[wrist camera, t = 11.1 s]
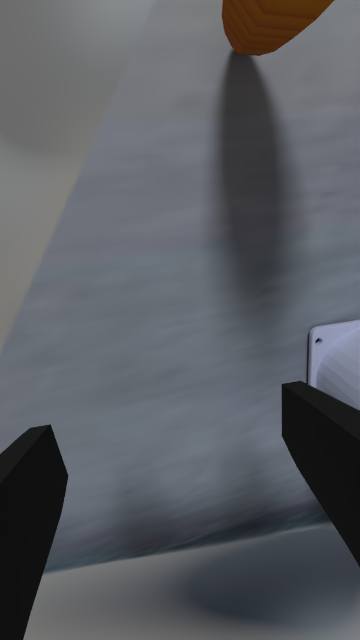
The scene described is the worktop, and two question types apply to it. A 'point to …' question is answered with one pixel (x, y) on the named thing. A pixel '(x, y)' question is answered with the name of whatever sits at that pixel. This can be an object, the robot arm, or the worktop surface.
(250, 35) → the carrot
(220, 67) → the worktop surface
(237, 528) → the worktop surface
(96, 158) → the worktop surface
